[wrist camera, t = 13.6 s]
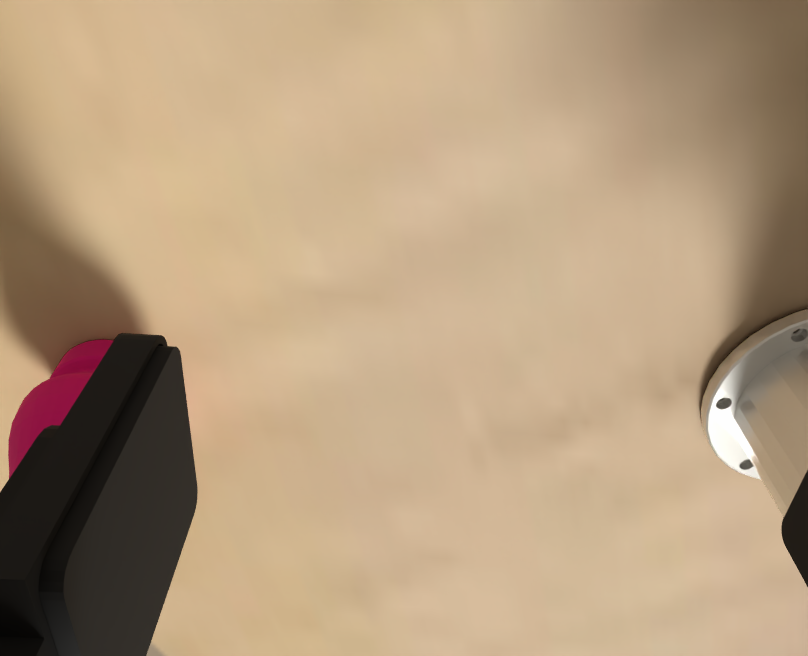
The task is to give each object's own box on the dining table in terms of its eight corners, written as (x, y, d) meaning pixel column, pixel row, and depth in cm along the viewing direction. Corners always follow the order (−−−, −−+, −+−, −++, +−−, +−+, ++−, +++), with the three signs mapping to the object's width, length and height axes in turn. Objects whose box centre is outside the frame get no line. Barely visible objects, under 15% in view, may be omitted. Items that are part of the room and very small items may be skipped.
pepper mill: (49, 317, 38) (-207, 679, 22) (187, 346, 40) (42, 710, 23) (49, 417, 42) (-170, 789, 26) (174, 440, 44) (42, 809, 27)
